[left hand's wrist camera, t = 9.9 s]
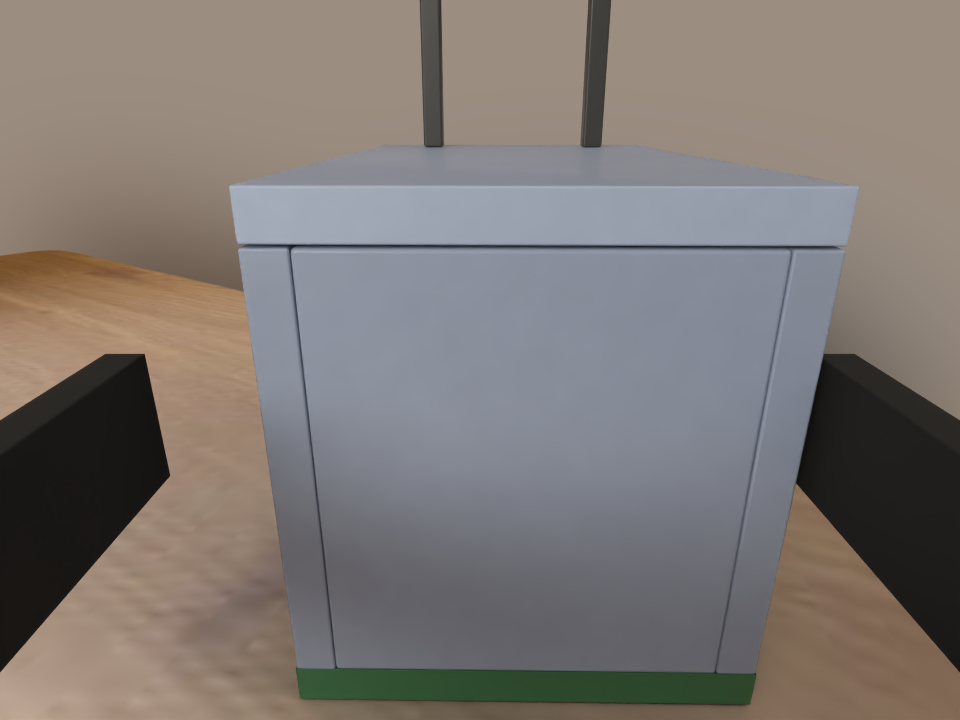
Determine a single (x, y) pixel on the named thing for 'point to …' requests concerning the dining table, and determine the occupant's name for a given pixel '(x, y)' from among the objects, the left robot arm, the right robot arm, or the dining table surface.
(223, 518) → the dining table surface
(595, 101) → the lid
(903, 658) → the dining table surface
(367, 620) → the chest
